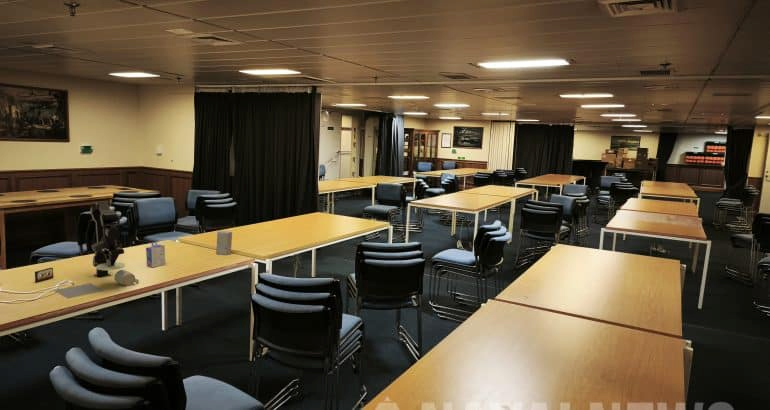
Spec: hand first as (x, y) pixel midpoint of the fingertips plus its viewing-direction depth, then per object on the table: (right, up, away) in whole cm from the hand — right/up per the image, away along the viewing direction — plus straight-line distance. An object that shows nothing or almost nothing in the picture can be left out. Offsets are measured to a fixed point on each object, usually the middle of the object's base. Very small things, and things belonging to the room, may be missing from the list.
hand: (110, 264), depth 245 cm
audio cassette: (-39, -10, +6) cm, 41 cm away
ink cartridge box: (+2, -6, +44) cm, 44 cm away
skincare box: (+32, -3, +80) cm, 86 cm away
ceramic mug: (+5, -12, +7) cm, 14 cm away
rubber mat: (-11, -13, -7) cm, 19 cm away
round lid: (0, -1, 0) cm, 1 cm away
